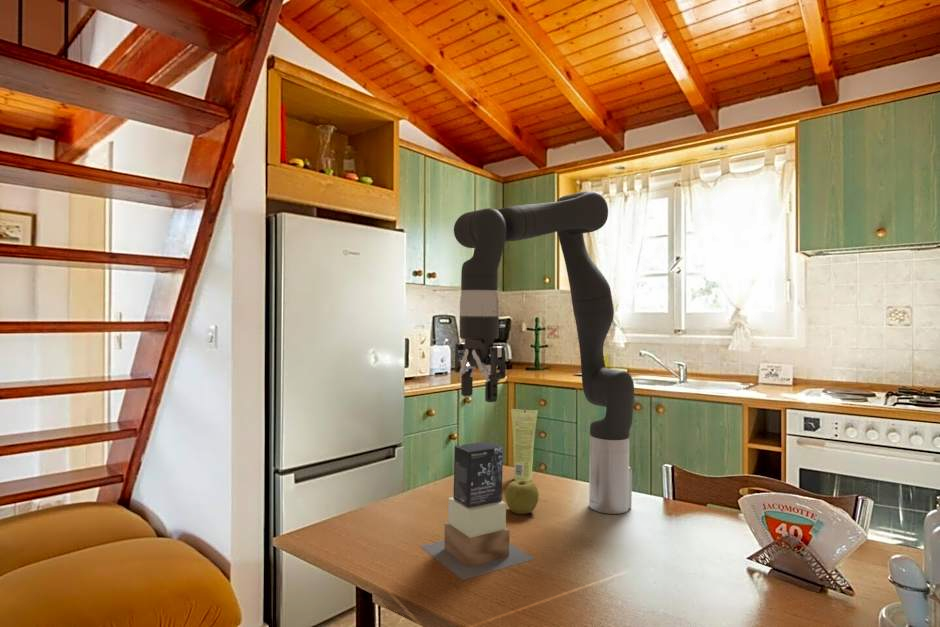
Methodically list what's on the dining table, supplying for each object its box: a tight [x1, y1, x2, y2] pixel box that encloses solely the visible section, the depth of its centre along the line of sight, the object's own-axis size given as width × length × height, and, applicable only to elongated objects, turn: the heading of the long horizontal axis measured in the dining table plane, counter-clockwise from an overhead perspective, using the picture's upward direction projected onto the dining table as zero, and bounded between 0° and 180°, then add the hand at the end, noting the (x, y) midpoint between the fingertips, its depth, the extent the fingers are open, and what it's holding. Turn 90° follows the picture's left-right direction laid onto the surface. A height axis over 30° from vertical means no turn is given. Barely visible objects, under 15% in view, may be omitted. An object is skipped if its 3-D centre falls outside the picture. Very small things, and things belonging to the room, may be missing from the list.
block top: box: [447, 496, 507, 538], centre depth 106 cm, size 8×8×5 cm
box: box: [452, 440, 504, 508], centre depth 105 cm, size 8×6×11 cm
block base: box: [444, 522, 510, 567], centre depth 106 cm, size 9×9×5 cm
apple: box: [504, 480, 539, 515], centre depth 128 cm, size 8×8×7 cm
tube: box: [510, 408, 539, 482], centre depth 153 cm, size 6×5×20 cm
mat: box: [420, 539, 536, 581], centre depth 106 cm, size 16×16×1 cm
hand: (478, 398), depth 106 cm, fingers open, 8 cm apart
